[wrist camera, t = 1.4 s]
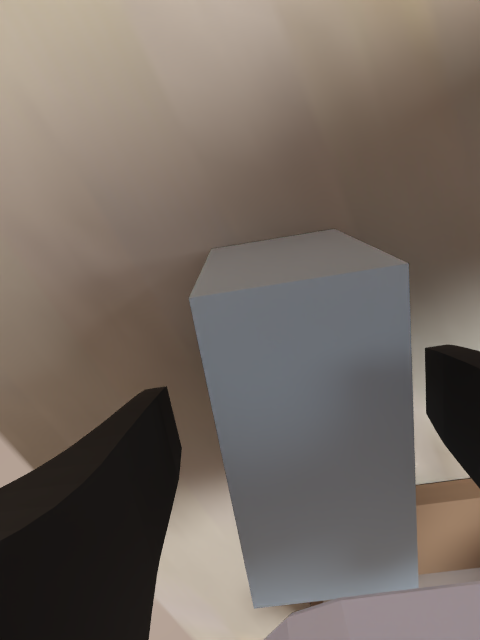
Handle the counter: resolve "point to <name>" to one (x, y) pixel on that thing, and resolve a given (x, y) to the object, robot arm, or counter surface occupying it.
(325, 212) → the counter surface
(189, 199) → the counter surface
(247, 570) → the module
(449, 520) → the board
